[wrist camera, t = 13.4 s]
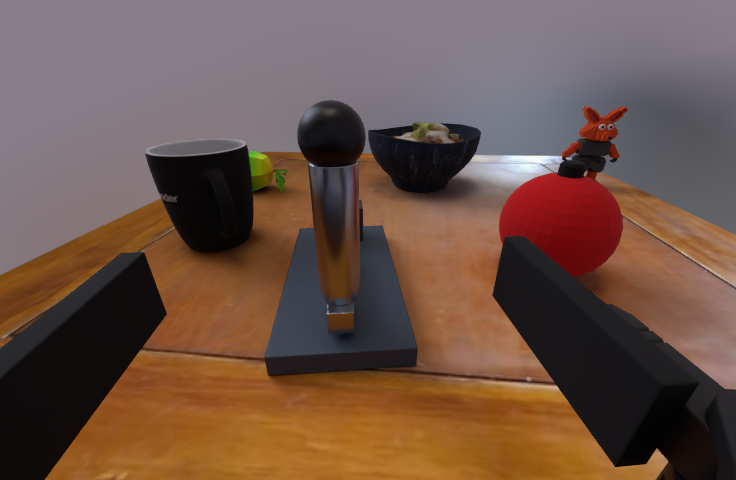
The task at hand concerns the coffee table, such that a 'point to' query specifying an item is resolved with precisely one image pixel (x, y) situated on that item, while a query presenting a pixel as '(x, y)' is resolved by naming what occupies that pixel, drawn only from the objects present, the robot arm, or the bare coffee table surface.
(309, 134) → the ball-knob lever
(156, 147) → the mug
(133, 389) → the coffee table surface
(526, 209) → the ornament
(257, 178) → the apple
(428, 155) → the bowl
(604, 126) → the toy animal
